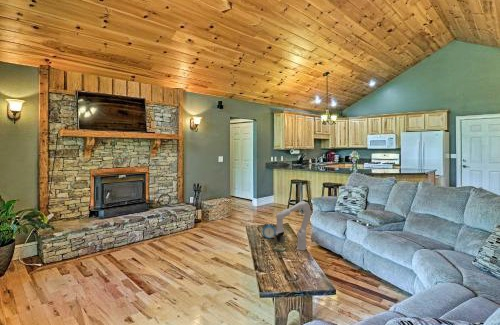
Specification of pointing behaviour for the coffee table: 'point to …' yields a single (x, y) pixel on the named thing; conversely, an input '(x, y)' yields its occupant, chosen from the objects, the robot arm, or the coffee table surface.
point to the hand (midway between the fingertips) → (279, 240)
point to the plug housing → (282, 239)
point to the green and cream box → (279, 248)
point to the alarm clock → (269, 230)
